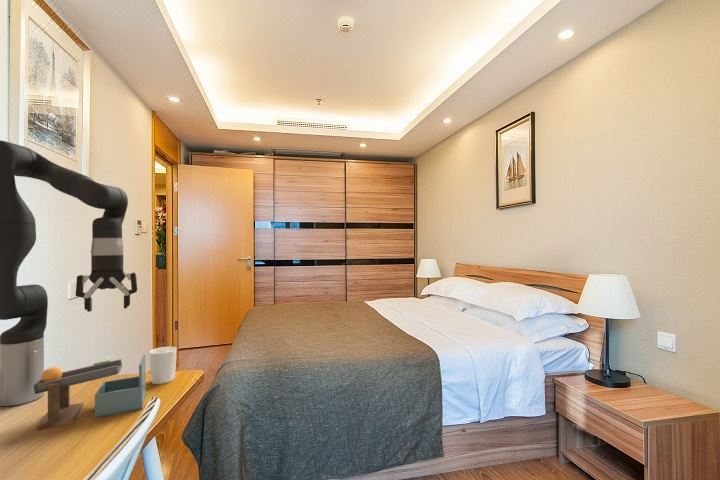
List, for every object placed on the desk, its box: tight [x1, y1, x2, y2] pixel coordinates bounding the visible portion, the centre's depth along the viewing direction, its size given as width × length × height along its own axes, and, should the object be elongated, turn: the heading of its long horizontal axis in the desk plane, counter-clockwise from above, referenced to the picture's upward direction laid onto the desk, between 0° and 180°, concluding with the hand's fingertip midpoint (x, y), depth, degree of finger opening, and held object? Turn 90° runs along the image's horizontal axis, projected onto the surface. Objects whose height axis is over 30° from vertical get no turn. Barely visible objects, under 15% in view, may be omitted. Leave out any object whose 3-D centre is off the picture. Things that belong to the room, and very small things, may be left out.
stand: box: [36, 383, 85, 431], centre depth 89 cm, size 7×10×10 cm
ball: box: [41, 366, 63, 382], centre depth 88 cm, size 4×4×4 cm
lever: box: [33, 353, 123, 394], centre depth 94 cm, size 17×14×3 cm
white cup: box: [148, 345, 178, 385], centre depth 113 cm, size 8×8×10 cm
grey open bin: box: [94, 354, 147, 419], centre depth 95 cm, size 10×10×12 cm
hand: (107, 309), depth 100 cm, fingers open, 8 cm apart
